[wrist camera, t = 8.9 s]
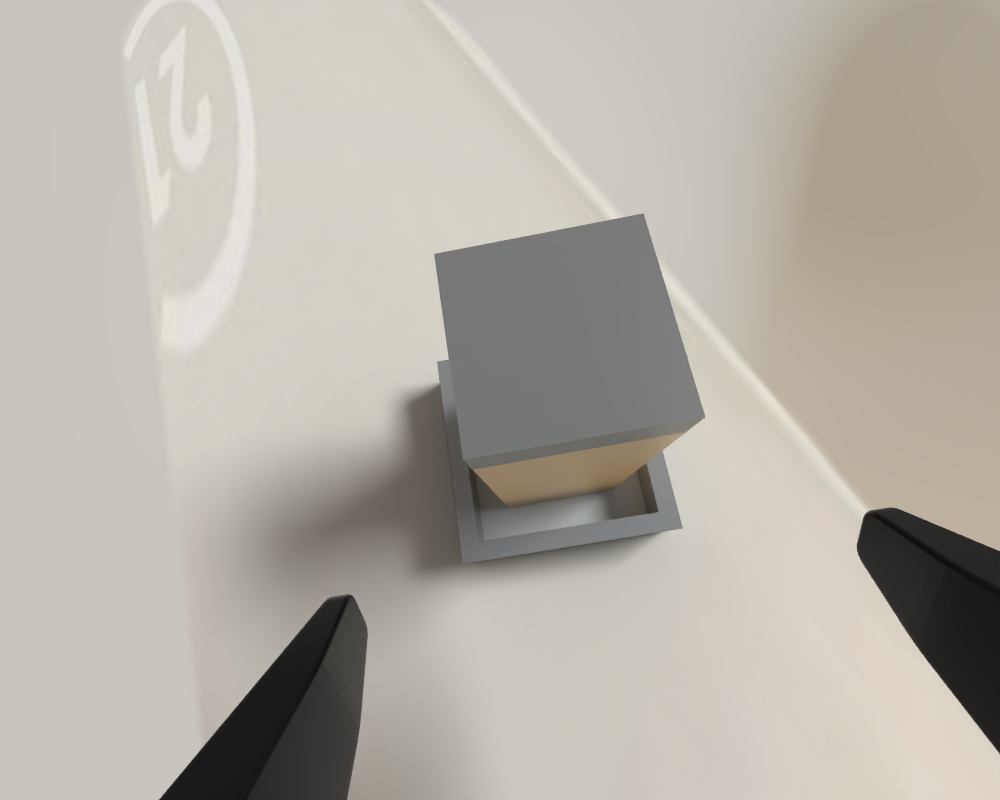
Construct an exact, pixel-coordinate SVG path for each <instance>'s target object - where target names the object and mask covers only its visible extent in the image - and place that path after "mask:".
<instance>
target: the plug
mask: <svg viewBox="0 0 1000 800" xmlns="http://www.w3.org/2000/svg"><path fill="white" fill-rule="evenodd" d="M434 255H435V263H436V270H437V277H438V284H439V291H440V298H441V305H442V313H443V320H444V327H445V334H446V341H447V348H448V356H449V363H450V370H451V377H452V384H453V391H454V398H455V406H456V413H457V420H458V427H459V434H460V441H461V448H462V456H463V460H464V461H465V462H466V463H467V465H468V466H469V467H470V468H471V469H472V470H473V471H474V472H475V473H476V474H477V475H478V476H479V477H480V478H481V479H482V480H483V481H484V482H485V483H486V484H487V485H488V486H489V487H490V488H491V489H492V490H493V492H494V493H495V494H496V495H497V496H498V497H499V498H500V499H501V500H502V501H503V502H504V503H505V504H506V505H507V506H508V507H515V506H521V505H526V504H532V503H538V502H544V501H549V500H555V499H561V498H567V497H573V496H578V495H584V494H590V493H596V492H601V491H607V490H612V489H614V488H615V487H616V486H617V485H619V484H620V483H621V482H623V481H624V480H625V479H626V478H628V477H629V476H630V475H632V474H633V473H634V472H635V471H637V470H638V469H639V468H641V467H642V466H643V465H644V464H646V463H647V462H648V461H649V460H651V459H652V458H653V457H655V456H656V455H657V454H658V453H660V452H661V451H662V450H664V449H665V448H666V447H667V446H669V445H670V444H671V443H673V442H674V441H675V440H676V439H678V438H679V437H680V436H681V435H683V434H684V433H685V432H687V431H688V430H689V429H690V428H692V427H693V426H694V425H696V424H697V423H698V422H699V421H701V420H702V419H703V418H705V415H704V411H703V408H702V405H701V401H700V398H699V395H698V392H697V388H696V385H695V382H694V378H693V375H692V372H691V369H690V365H689V362H688V359H687V355H686V352H685V349H684V345H683V342H682V339H681V336H680V332H679V329H678V326H677V322H676V319H675V316H674V313H673V309H672V306H671V303H670V299H669V296H668V293H667V289H666V286H665V283H664V280H663V276H662V273H661V270H660V266H659V263H658V260H657V257H656V253H655V250H654V247H653V244H652V241H651V237H650V234H649V230H648V227H647V224H646V220H645V217H644V214H639V215H634V216H629V217H623V218H618V219H613V220H608V221H603V222H597V223H592V224H587V225H582V226H577V227H572V228H566V229H561V230H556V231H551V232H546V233H541V234H535V235H530V236H525V237H520V238H515V239H510V240H505V241H499V242H494V243H489V244H484V245H479V246H474V247H468V248H463V249H458V250H453V251H448V252H443V253H437V254H434Z"/></svg>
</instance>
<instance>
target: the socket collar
mask: <svg viewBox="0 0 1000 800" xmlns="http://www.w3.org/2000/svg"><path fill="white" fill-rule="evenodd" d="M437 364H438V372H439V380H440V388H441V396H442V404H443V412H444V420H445V428H446V436H447V444H448V452H449V460H450V468H451V476H452V484H453V492H454V501H455V509H456V517H457V525H458V533H459V541H460V549H461V557H462V564H466V563H472V562H479V561H485V560H491V559H497V558H503V557H509V556H515V555H522V554H528V553H534V552H540V551H546V550H552V549H559V548H565V547H571V546H577V545H583V544H589V543H595V542H602V541H608V540H614V539H620V538H626V537H632V536H638V535H645V534H651V533H657V532H663V531H669V530H675V529H682V528H683V527H682V524H681V520H680V516H679V512H678V508H677V505H676V501H675V497H674V493H673V489H672V486H671V482H670V478H669V474H668V470H667V467H666V463H665V459H664V455H663V451H661V452H660V453H658V454H657V455H656V456H655V457H653V458H652V459H651V460H649V461H648V462H647V463H646V464H644V465H643V466H642V467H641V468H639V469H638V470H637V471H635V472H634V473H633V474H632V475H630V476H629V477H628V478H626V479H625V480H624V481H623V482H621V483H620V484H619V485H617V486H616V487H615V488H614V489H612V490H607V491H601V492H596V493H590V494H584V495H578V496H573V497H567V498H561V499H555V500H549V501H544V502H538V503H532V504H526V505H521V506H515V507H508V506H507V505H506V504H505V503H504V502H503V501H502V500H501V499H500V498H499V497H498V496H497V495H496V494H495V493H494V492H493V490H492V489H491V488H490V487H489V486H488V485H487V484H486V483H485V482H484V481H483V480H482V479H481V478H480V477H479V476H478V475H477V474H476V473H475V472H474V471H473V470H472V469H471V468H470V467H469V466H468V465H467V463H466V462H465V461H464V460H463V456H462V448H461V441H460V434H459V427H458V420H457V413H456V406H455V398H454V391H453V384H452V377H451V370H450V363H449V360H444V361H438V362H437Z"/></svg>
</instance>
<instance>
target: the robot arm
mask: <svg viewBox="0 0 1000 800" xmlns="http://www.w3.org/2000/svg"><path fill="white" fill-rule="evenodd" d="M857 552H858V555H859V557H860V560H861V561H862V563H863V565H864V566H865V568H866V569H867V571H868V572H869V574H870V575H871V577H872V579H873V580H874V582H875V583H876V585H877V586H878V588H879V589H880V591H881V593H882V594H883V596H884V597H885V599H886V600H887V602H888V603H889V605H890V607H891V608H892V610H893V611H894V613H895V614H896V616H897V617H898V619H899V621H900V622H901V624H902V625H903V627H904V628H905V630H906V631H907V633H908V634H909V636H910V637H911V639H912V640H913V642H914V643H915V645H916V646H917V647H918V649H919V650H920V651H921V653H922V654H923V655H924V657H925V658H926V660H927V661H928V662H929V663H930V665H931V666H932V667H933V669H934V670H935V671H936V672H937V674H938V675H939V676H940V678H941V679H942V680H943V681H944V683H945V684H946V685H947V687H948V688H949V689H950V690H951V692H952V693H953V694H954V696H955V697H956V698H957V699H958V701H959V702H960V703H961V705H962V706H963V707H964V708H965V710H966V711H967V712H968V714H969V715H970V716H971V717H972V719H973V720H974V721H975V723H976V724H977V725H978V726H979V728H980V729H981V730H982V732H983V733H984V734H985V735H986V737H987V738H988V739H989V741H990V742H991V743H992V744H993V746H994V747H995V748H996V750H997V751H998V752H999V753H1000V551H998V550H995V549H993V548H991V547H988V546H986V545H983V544H981V543H979V542H976V541H973V540H971V539H969V538H967V537H964V536H962V535H959V534H957V533H955V532H952V531H950V530H947V529H945V528H943V527H940V526H938V525H935V524H933V523H931V522H928V521H926V520H923V519H921V518H919V517H916V516H914V515H912V514H909V513H907V512H904V511H902V510H899V509H897V508H884V509H877V510H871V511H868V512H867V513H866V514H865V515H864V517H863V521H862V525H861V530H860V534H859V538H858V542H857ZM367 637H368V634H367V626H366V623H365V620H364V618H363V616H362V614H361V612H360V609H359V607H358V605H357V603H356V601H355V599H354V597H353V596H352V595H348V594H347V595H341V596H335V597H330V598H328V599H327V600H326V601H325V602H324V603H323V604H322V605H321V607H320V608H319V609H318V610H317V611H316V613H315V614H314V615H313V616H312V617H311V618H310V620H309V621H308V622H307V623H306V624H305V626H304V627H303V628H302V629H301V630H300V632H299V633H298V634H297V635H296V636H295V638H294V639H293V640H292V641H291V642H290V644H289V645H288V646H287V647H286V648H285V650H284V651H283V652H282V653H281V654H280V656H279V657H278V658H277V659H276V660H275V662H274V663H273V664H272V665H271V666H270V668H269V669H268V670H267V671H266V672H265V674H264V675H263V676H262V677H261V678H260V680H259V681H258V682H257V683H256V684H255V686H254V687H253V688H252V689H251V690H250V692H249V693H248V694H247V695H246V696H245V697H244V699H243V700H242V701H241V702H240V703H239V705H238V706H237V707H236V708H235V709H234V711H233V712H232V713H231V714H230V715H229V717H228V718H227V719H226V720H225V721H224V723H223V724H222V725H221V726H220V727H219V729H218V730H217V731H216V732H215V733H214V735H213V736H212V737H211V738H210V739H209V741H208V742H207V743H206V744H205V745H204V747H203V748H202V749H201V750H200V751H199V753H198V754H197V755H196V756H195V757H194V759H193V760H192V761H191V763H189V765H188V766H187V767H186V768H185V769H184V771H183V772H182V773H181V774H180V775H179V776H178V778H177V779H176V780H175V781H174V783H173V784H172V785H171V786H170V787H169V788H168V790H167V791H166V792H165V793H164V794H163V796H162V797H161V798H160V799H159V800H347V797H348V791H349V786H350V780H351V775H352V770H353V764H354V759H355V753H356V748H357V742H358V736H359V729H360V720H361V710H362V698H363V686H364V674H365V662H366V650H367Z"/></svg>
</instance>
